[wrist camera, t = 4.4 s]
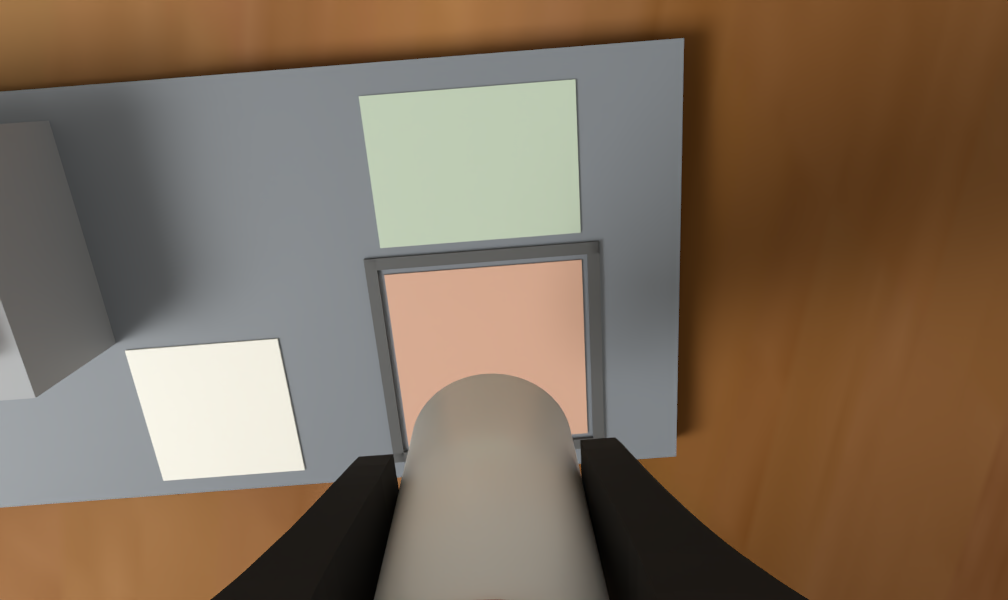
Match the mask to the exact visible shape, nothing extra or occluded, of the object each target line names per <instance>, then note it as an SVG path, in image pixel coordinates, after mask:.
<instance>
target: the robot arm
mask: <svg viewBox="0 0 1008 600" xmlns="http://www.w3.org/2000/svg"><path fill="white" fill-rule="evenodd" d="M580 448H581V474H582V482H583V487H584V491H585V495H586V500H587V504H588V508H589V513H590V517H591V521H592V526H593V530H594V534H595V539H596V543H597V548H598V552H599V556H600V561H601V565H602V569H603V574H604V578H605V583H606V587H607V591H608V596H609V600H809V599H807V598H805V597H804V596H802V595H800V594H799V593H797V592H796V591H794V590H792V589H791V588H789V587H788V586H786V585H785V584H783V583H782V582H780V581H779V580H777V579H776V578H774V577H773V576H771V575H770V574H768V573H767V572H766V571H764V570H763V569H761V568H760V567H758V566H757V565H756V564H754V563H753V562H751V561H750V560H749V559H747V558H746V557H744V556H743V555H741V554H740V553H739V552H737V551H736V550H735V549H733V548H732V547H731V546H730V545H728V544H727V543H726V542H724V541H723V540H722V539H721V538H720V537H718V536H717V535H716V534H715V533H714V532H712V531H711V530H710V529H709V528H708V527H706V526H705V525H704V524H703V523H702V522H701V521H699V520H698V519H697V518H696V517H695V516H694V515H693V514H692V513H690V512H689V511H688V510H687V509H686V508H685V507H684V506H683V505H682V504H681V503H680V502H679V501H678V500H677V499H675V498H674V497H673V496H672V495H671V494H670V493H669V492H668V491H667V490H666V489H665V488H664V487H663V486H662V485H661V484H660V483H659V482H658V481H657V480H656V479H655V478H654V477H653V476H652V475H651V474H650V473H649V472H648V471H647V470H646V469H645V468H644V467H643V466H642V465H641V464H640V462H639V461H638V460H637V459H636V458H635V457H634V456H633V455H632V454H631V453H630V452H629V451H628V449H627V448H626V447H625V446H624V445H623V444H622V443H621V442H620V441H619V440H618V439H617V438H615V437H613V438H600V439H586V440H580ZM398 493H399V488H398V482H397V475H396V469H395V462H394V456H393V454H387V455H374V456H360V457H358V458H357V459H356V460H355V461H354V462H353V463H352V464H351V465H350V466H349V467H348V468H347V469H346V470H345V471H344V472H343V473H342V475H341V476H340V477H339V478H338V479H337V480H336V481H335V482H334V483H333V484H332V485H331V486H330V487H329V488H328V490H327V491H326V492H325V493H324V494H323V495H322V496H321V497H320V498H319V499H318V500H317V501H316V502H315V503H314V505H313V506H312V507H311V508H310V509H309V510H308V511H307V512H306V513H305V514H304V515H303V516H302V517H301V518H300V519H299V520H298V521H297V522H296V523H295V524H294V525H293V526H292V527H291V528H290V529H289V530H288V531H287V532H286V533H285V534H284V535H283V536H282V537H281V538H280V539H279V540H278V541H276V542H275V543H274V544H273V545H272V546H271V547H270V548H269V549H268V550H267V551H266V552H265V553H264V554H263V555H262V556H260V557H259V558H258V559H257V560H256V561H255V562H254V563H253V564H252V565H251V566H250V567H249V568H248V569H247V570H246V571H244V572H243V573H242V574H241V575H240V576H239V577H237V578H236V579H235V580H234V581H233V582H232V583H230V584H229V585H228V586H227V587H226V588H224V589H223V590H222V591H221V592H220V593H219V594H217V595H216V596H215V597H213V598H212V599H211V600H374V596H375V592H376V588H377V583H378V579H379V575H380V570H381V566H382V562H383V557H384V553H385V549H386V545H387V540H388V536H389V532H390V527H391V523H392V519H393V514H394V510H395V506H396V501H397V497H398Z"/></svg>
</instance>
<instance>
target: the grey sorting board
mask: <svg viewBox="0 0 1008 600" xmlns="http://www.w3.org/2000/svg"><path fill="white" fill-rule="evenodd" d="M683 68H684V38H678V39H665V40H652V41H640V42H627V43H614V44H601V45H589V46H576V47H563V48H551V49H538V50H525V51H512V52H500V53H487V54H474V55H461V56H449V57H436V58H423V59H411V60H398V61H385V62H372V63H360V64H347V65H334V66H322V67H309V68H296V69H283V70H271V71H258V72H245V73H232V74H220V75H207V76H194V77H182V78H169V79H156V80H143V81H131V82H118V83H105V84H93V85H80V86H67V87H54V88H42V89H29V90H16V91H3V92H0V507H13V506H26V505H39V504H52V503H65V502H79V501H92V500H105V499H118V498H132V497H145V496H158V495H171V494H184V493H198V492H211V491H224V490H237V489H250V488H264V487H277V486H290V485H303V484H316V483H330V482H335V481H336V480H337V479H338V478H339V477H340V476H341V475H342V473H343V472H344V471H345V470H346V469H347V468H348V467H349V466H350V465H351V464H352V463H353V462H354V461H355V460H356V459H357V458H358V457H360V456H374V455H387V454H393V456H394V462H395V469H396V475H397V477H402V476H403V471H404V467H405V463H406V458H407V454H408V450H409V445H410V441H411V437H412V432H413V428H414V425H415V422H416V419H417V417H418V415H419V413H420V412H421V410H422V408H423V407H424V406H425V404H426V403H427V402H428V401H429V400H430V399H431V398H432V397H433V396H434V395H435V394H436V393H437V392H438V391H440V390H441V389H442V388H444V387H446V386H447V385H449V384H451V383H453V382H455V381H457V380H460V379H462V378H466V377H469V376H473V375H479V374H494V373H495V374H506V375H511V376H515V377H519V378H522V379H525V380H527V381H529V382H531V383H533V384H535V385H537V386H538V387H540V388H542V389H543V390H545V391H546V392H547V393H548V394H549V395H550V396H552V398H553V399H554V400H555V401H556V402H557V403H558V404H559V406H560V407H561V409H562V410H563V412H564V414H565V416H566V418H567V420H568V423H569V426H570V430H571V434H572V438H573V443H574V447H575V451H576V456H577V460H578V464H581V448H580V440H586V439H600V438H613V437H615V438H617V439H618V440H619V441H620V442H621V443H622V444H623V445H624V446H625V447H626V448H627V449H628V451H629V452H630V453H631V454H632V455H633V456H634V457H635V458H636V459H647V458H660V457H673V456H676V437H677V385H678V332H679V279H680V226H681V173H682V120H683Z"/></svg>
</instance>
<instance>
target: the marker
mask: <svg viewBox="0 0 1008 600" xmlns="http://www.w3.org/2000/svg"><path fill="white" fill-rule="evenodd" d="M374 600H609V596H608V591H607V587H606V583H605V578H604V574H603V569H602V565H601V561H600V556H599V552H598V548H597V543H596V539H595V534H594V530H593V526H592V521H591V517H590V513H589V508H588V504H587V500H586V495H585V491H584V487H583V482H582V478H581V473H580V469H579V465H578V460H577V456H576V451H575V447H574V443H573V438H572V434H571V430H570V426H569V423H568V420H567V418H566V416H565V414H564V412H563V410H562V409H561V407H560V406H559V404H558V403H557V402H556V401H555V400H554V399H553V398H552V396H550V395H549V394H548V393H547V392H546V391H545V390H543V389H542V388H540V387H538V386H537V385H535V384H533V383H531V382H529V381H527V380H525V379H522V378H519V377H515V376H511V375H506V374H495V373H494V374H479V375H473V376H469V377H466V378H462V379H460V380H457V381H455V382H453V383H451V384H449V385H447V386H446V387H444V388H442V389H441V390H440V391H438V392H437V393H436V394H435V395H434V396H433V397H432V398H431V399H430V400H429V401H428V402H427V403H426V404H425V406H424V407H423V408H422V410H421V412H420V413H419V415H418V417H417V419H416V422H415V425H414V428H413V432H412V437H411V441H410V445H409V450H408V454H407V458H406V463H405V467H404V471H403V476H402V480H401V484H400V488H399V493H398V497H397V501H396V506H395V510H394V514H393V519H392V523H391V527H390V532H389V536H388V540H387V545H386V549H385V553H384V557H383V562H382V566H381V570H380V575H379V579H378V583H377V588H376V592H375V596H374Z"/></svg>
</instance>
